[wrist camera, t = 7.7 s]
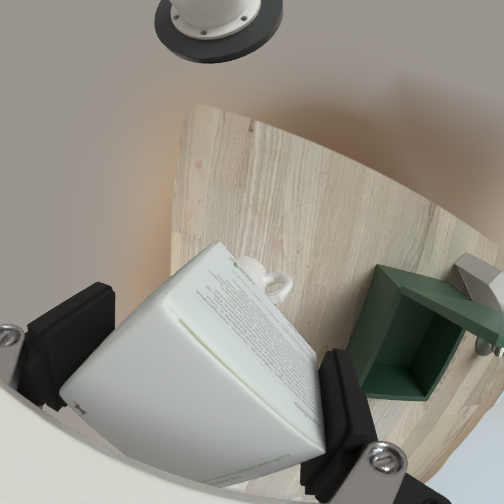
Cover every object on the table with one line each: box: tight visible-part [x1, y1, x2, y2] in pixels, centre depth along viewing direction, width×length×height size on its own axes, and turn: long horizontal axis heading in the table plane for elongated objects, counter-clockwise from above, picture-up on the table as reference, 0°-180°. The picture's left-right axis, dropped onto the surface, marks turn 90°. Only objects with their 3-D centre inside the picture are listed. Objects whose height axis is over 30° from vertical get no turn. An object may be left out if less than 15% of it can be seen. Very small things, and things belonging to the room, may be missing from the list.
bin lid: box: [400, 285, 504, 348], centre depth 20 cm, size 16×13×1 cm
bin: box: [346, 264, 472, 401], centre depth 35 cm, size 16×13×9 cm
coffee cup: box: [476, 337, 504, 358], centre depth 35 cm, size 12×12×5 cm
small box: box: [59, 242, 326, 488], centre depth 8 cm, size 6×6×5 cm
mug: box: [235, 256, 293, 305], centre depth 34 cm, size 10×7×12 cm, turn 109°
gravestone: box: [455, 252, 504, 313], centre depth 27 cm, size 3×9×18 cm, turn 41°
